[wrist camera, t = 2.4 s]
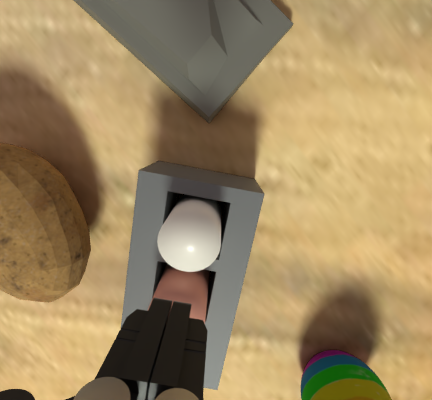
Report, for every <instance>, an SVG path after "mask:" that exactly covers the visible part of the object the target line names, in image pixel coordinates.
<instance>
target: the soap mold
mask: <svg viewBox="0 0 432 400" xmlns="http://www.w3.org/2000/svg"><path fill="white" fill-rule="evenodd" d="M74 1H75V2H76V3H77V4H78V5H79V6H80V7H81V8H83V9H84V10H85V11H86V12H87V13H88V14H89V15H90V16H91V17H92V18H94V19H95V20H96V21H97V22H98V23H99V24H100V25H101V26H102V27H103V28H105V29H106V30H107V31H108V32H109V33H110V34H111V35H112V36H113V37H114V38H116V39H117V40H118V41H119V42H120V43H121V44H122V45H123V46H124V47H125V48H126V49H128V50H129V51H130V52H131V53H132V54H133V55H134V56H135V57H136V58H137V59H139V60H140V61H141V62H142V63H143V64H144V65H145V66H146V67H147V68H148V69H150V70H151V71H152V72H153V73H154V74H155V75H156V76H157V77H158V78H159V79H161V80H162V81H163V82H164V83H165V84H166V85H167V86H168V87H169V88H170V89H172V90H173V91H174V92H175V93H176V94H177V95H178V96H179V97H180V98H181V99H183V100H184V101H185V102H186V103H187V104H188V105H189V106H190V107H191V108H192V109H194V110H195V111H196V112H197V113H198V114H199V115H200V116H201V117H202V118H204V119H205V120H206V121H207V122H208V123H210V122H211V120H212V119H213V118H214V117H215V116H216V115H217V113H218V112H219V111H220V110H221V109H222V107H223V106H224V105H225V104H226V103H227V101H228V100H229V99H230V98H231V97H232V96H233V94H234V93H235V92H236V91H237V90H238V88H239V87H240V86H241V85H242V84H243V82H244V81H245V80H246V79H247V78H248V77H249V75H250V74H251V73H252V72H253V71H254V69H255V68H256V67H257V66H258V65H259V63H260V62H261V61H262V60H263V59H264V57H265V56H266V55H267V54H268V53H269V52H270V51H271V49H272V48H273V47H274V46H275V45H276V44H277V43H278V42H279V41H280V39H281V38H282V37H283V36H284V35H285V34H286V33H287V32H288V31H289V29H290V28H291V27H292V25H293V23H292V22H291V21H290V20H289V19H288V18H287V17H286V16H285V15H284V14H283V13H282V12H281V11H280V10H279V9H278V8H277V7H276V6H275V5H274V4H273V3H272V2H271V1H270V0H74Z"/></svg>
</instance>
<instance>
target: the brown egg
mask: <svg viewBox="0 0 432 400" xmlns="http://www.w3.org/2000/svg"><path fill="white" fill-rule="evenodd" d="M209 276H210V271H209V270H204V269H203V270H200V271H195V272H186V271H181V270H178V269H176V268H174V267H172V266H170V265H169V264H168V263H167V265H166V267H165V270H164V272H163V274H162V277H161V279H160V282H159V284H158V286H157V289H156V291H155V293H154V296H153V298H160V299H166V300H172V305H173V302H174V301H178V302H184V303H190V304H192V306H191V311H190V317H189V318H194V319H200V320H203V321H204V324H205V318H206V307H207V297H208V286H209ZM153 298H152V300H153ZM151 303H152V301H151ZM151 303H150V305H151ZM150 305H149V308H150ZM149 308H148V310H149Z"/></svg>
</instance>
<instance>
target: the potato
mask: <svg viewBox="0 0 432 400" xmlns="http://www.w3.org/2000/svg"><path fill="white" fill-rule="evenodd" d="M90 251H91V246H90V236H89V229H88V226H87V223H86V220H85V217H84V214H83V212H82V210H81V207H80V205H79V203H78V201H77V199H76V197H75V195H74V193H73V191H72V190H71V188H70V186H69V184H68V183H67V181H66V179H65V178H64V176H63V175H62V174H61V173H60V172H59V171H58V170H57V169H56V168H54V167H53V166H52V165H51V164H50V163H49V162H48V161H47V160H45V159H44V158H42V157H40V156H38V155H37V154H35V153H33V152H32V151H30V150H28V149H25V148H22V147H18V146H15V145H11V144H5V143H0V290H2V291H4V292H6V293H8V294H10V295H12V296H14V297H16V298H18V299H22V300H30V301H39V302H52V301H54V300H56V299H59V298H61V297H63V296H64V295H65V294H67V293H68V292H69V291H71V290H72V289H73V288H75V287H76V286H77V285H79V283H80V281H81V279H82V276H83V274H84V272H85V269H86V266H87V262H88V258H89V255H90Z"/></svg>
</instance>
